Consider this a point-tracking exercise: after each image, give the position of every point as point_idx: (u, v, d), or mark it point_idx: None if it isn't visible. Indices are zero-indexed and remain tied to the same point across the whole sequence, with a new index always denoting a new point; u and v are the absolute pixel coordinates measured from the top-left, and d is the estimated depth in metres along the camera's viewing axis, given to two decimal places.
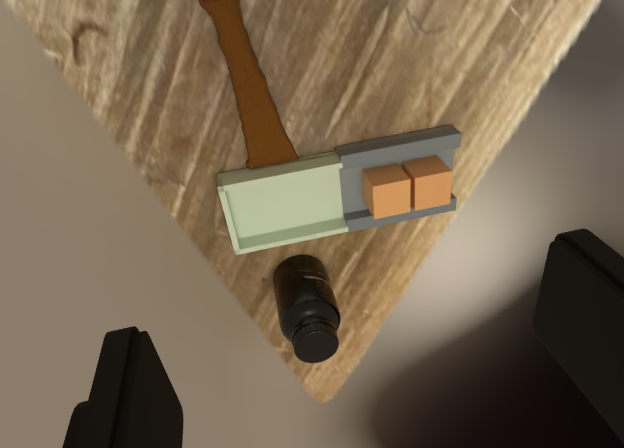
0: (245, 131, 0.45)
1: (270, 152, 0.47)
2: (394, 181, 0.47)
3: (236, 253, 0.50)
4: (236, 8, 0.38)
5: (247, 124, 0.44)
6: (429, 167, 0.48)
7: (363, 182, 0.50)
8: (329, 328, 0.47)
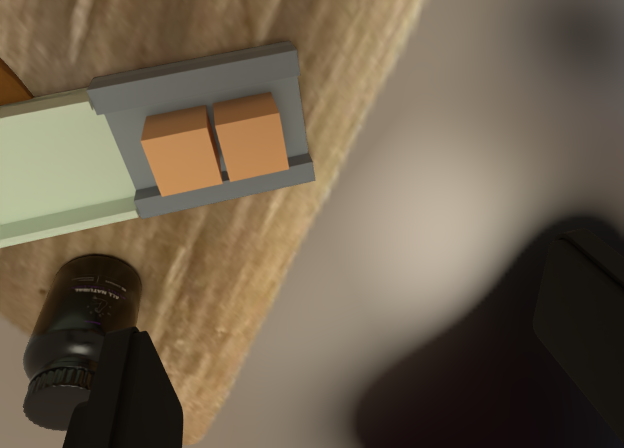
0: None
1: None
2: (179, 131, 0.28)
3: None
4: None
5: None
6: (247, 109, 0.29)
7: None
8: (83, 377, 0.29)
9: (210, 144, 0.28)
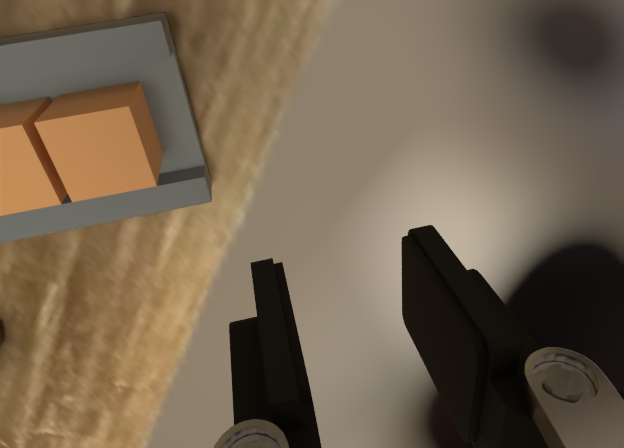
0: None
1: None
2: None
3: None
4: None
5: None
6: (94, 101, 0.21)
7: None
8: None
9: (32, 149, 0.20)
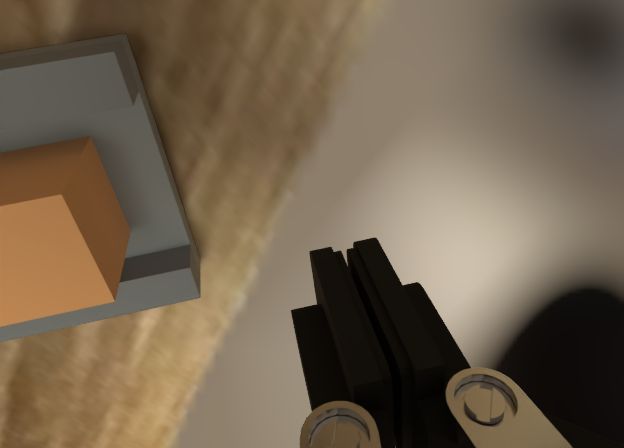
0: None
1: None
2: None
3: None
4: None
5: None
6: (11, 178, 0.13)
7: None
8: None
9: None
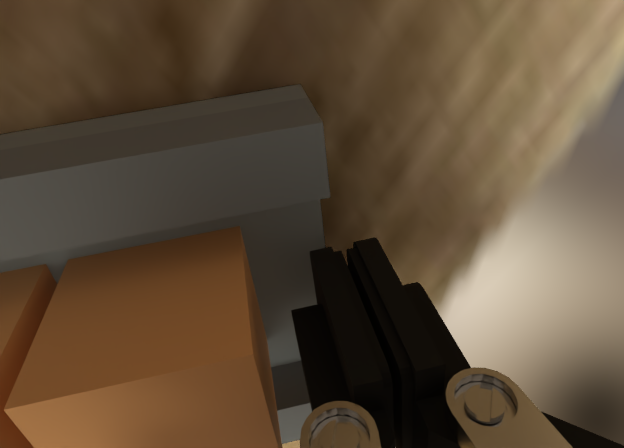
0: None
1: None
2: None
3: None
4: None
5: None
6: (153, 309, 0.09)
7: None
8: None
9: None
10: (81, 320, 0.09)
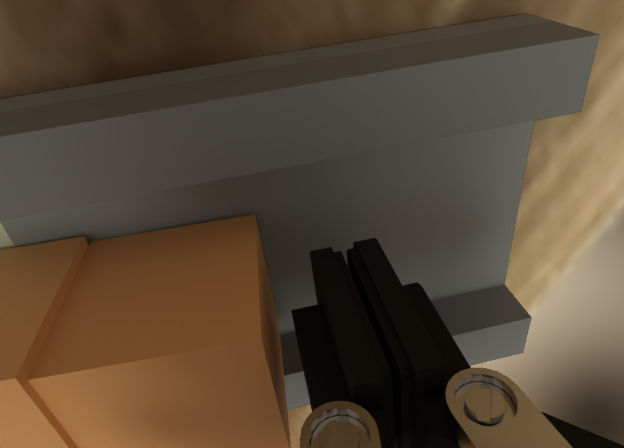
0: None
1: None
2: None
3: None
4: None
5: None
6: (169, 292, 0.09)
7: None
8: None
9: (42, 417, 0.08)
10: (101, 299, 0.09)
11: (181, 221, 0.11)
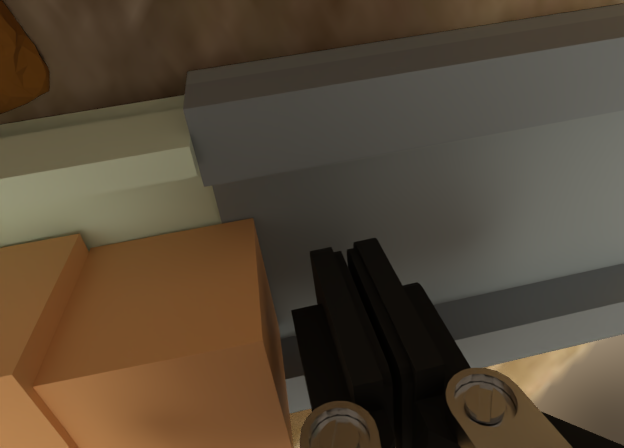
0: None
1: None
2: None
3: None
4: None
5: None
6: (170, 296, 0.09)
7: None
8: None
9: (40, 414, 0.08)
10: (103, 305, 0.09)
11: (369, 188, 0.12)
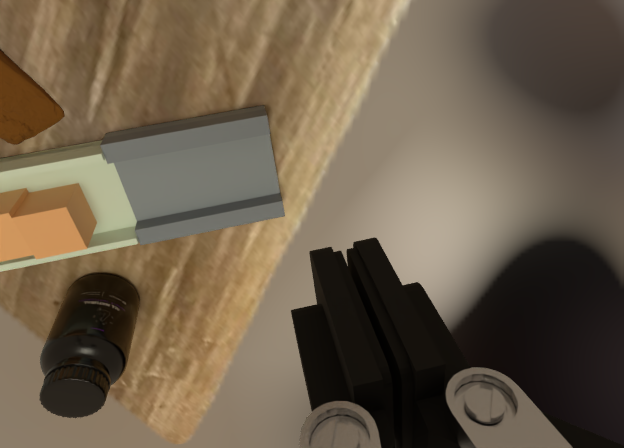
0: None
1: (0, 96, 0.33)
2: None
3: None
4: None
5: None
6: (47, 201, 0.36)
7: None
8: (88, 373, 0.35)
9: (15, 225, 0.35)
10: (30, 204, 0.36)
11: (164, 166, 0.38)
